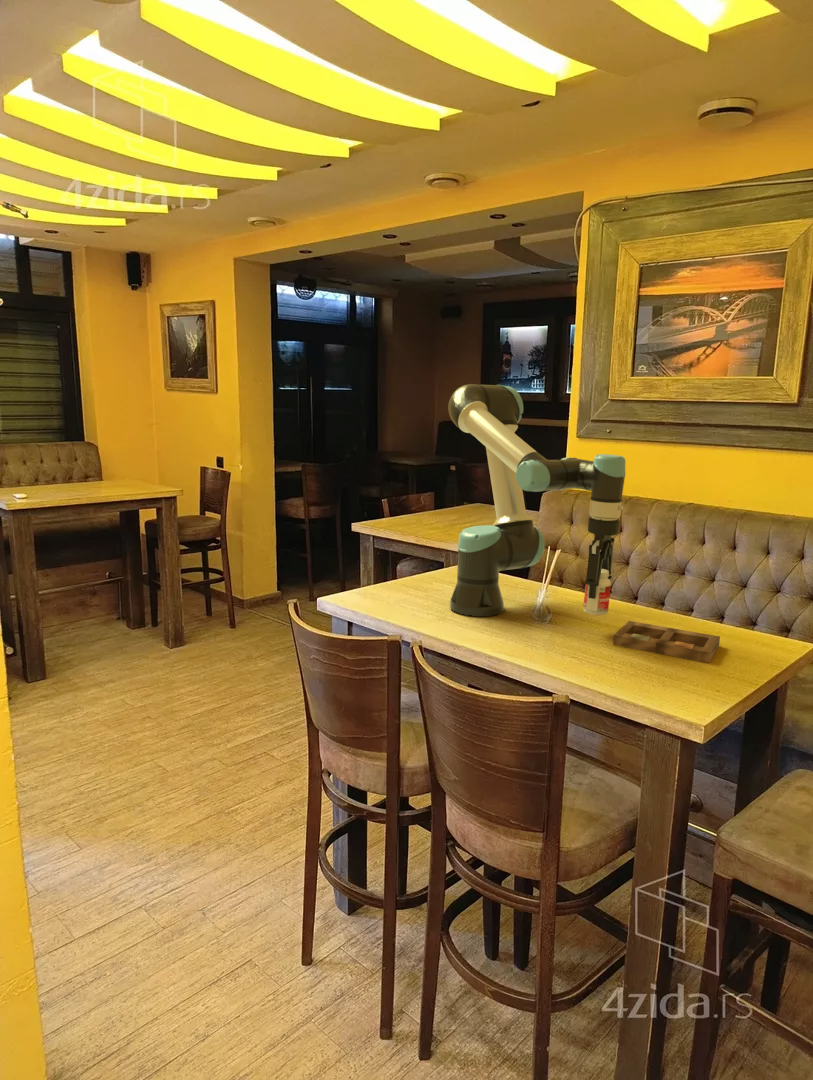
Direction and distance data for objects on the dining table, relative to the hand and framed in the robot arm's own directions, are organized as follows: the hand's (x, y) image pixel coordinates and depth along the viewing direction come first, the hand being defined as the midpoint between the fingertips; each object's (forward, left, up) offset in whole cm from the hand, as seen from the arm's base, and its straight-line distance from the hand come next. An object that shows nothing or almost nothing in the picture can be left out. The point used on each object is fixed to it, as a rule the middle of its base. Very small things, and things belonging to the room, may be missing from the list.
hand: (595, 606), depth 179 cm
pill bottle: (0, 0, -2) cm, 2 cm away
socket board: (+18, +1, -7) cm, 19 cm away
